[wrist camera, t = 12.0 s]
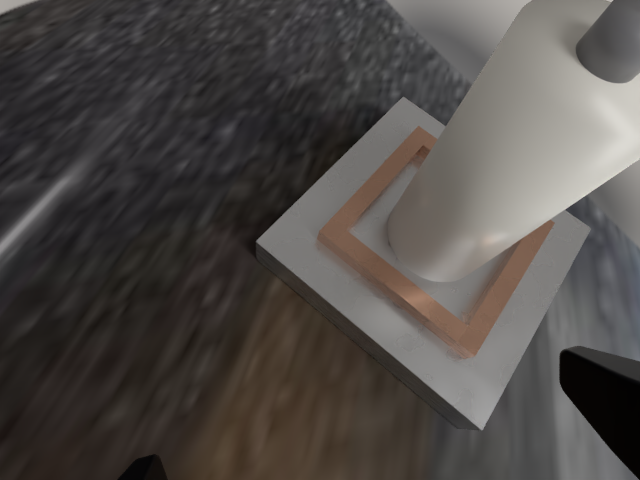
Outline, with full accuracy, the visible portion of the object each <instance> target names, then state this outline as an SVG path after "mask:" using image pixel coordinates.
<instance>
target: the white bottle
mask: <svg viewBox="0 0 640 480" xmlns="http://www.w3.org/2000/svg"><path fill="white" fill-rule="evenodd" d="M639 159H640V0H613V1H612V2H608V1H606V0H532V1H531V2H529V3H528V4H526V5H525V6H524V7H523V8H522V9H521V11H520V12H519V13H518V15H517V16H516V18H515V19H514V21H513V23H512V24H511V26H510V27H509V29H508V30H507V32H506V34H505V35H504V37H503V38H502V40H501V41H500V43H499V44H498V46H497V48H496V49H495V51H494V52H493V54H492V55H491V57H490V59H489V60H488V62H487V63H486V65H485V66H484V68H483V70H482V71H481V72H480V74H479V76H478V77H477V79H476V80H475V82H474V83H473V85H472V87H471V88H470V90H469V91H468V93H467V94H466V96H465V97H464V99H463V101H462V102H461V104H460V105H459V107H458V108H457V110H456V112H455V113H454V115H453V116H452V118H451V119H450V121H449V122H448V124H447V126H446V127H445V129H444V130H443V132H442V133H441V135H440V137H439V138H438V140H437V141H436V143H435V144H434V146H433V147H432V149H431V151H430V152H429V154H428V155H427V157H426V158H425V160H424V162H423V163H422V165H421V166H420V168H419V169H418V171H417V172H416V174H415V176H414V177H413V179H412V180H411V182H410V183H409V185H408V187H407V188H406V190H405V191H404V193H403V194H402V196H401V197H400V199H399V201H398V202H397V204H396V205H395V207H394V208H393V210H392V212H391V214H390V217H389V220H388V238H389V242H390V245H391V247H392V250H393V252H394V253H395V255H396V257H397V258H398V259H399V260H400V262H401V263H402V264H403V265H404V266H405V267H406V268H407V269H409V270H410V271H411V272H413V273H414V274H416V275H418V276H420V277H422V278H424V279H427V280H430V281H435V282H452V281H456V280H459V279H462V278H464V277H466V276H467V275H469V274H470V273H472V272H473V271H475V270H476V269H478V268H479V267H480V266H482V265H483V264H485V263H486V262H488V261H489V260H491V259H492V258H494V257H495V256H497V255H498V254H500V253H501V252H503V251H504V250H506V249H507V248H509V247H510V246H512V245H513V244H515V243H516V242H517V241H519V240H520V239H522V238H523V237H525V236H526V235H528V234H529V233H531V232H532V231H534V230H535V229H537V228H538V227H540V226H541V225H543V224H544V223H546V222H547V221H549V220H550V219H552V218H553V217H554V216H556V215H557V214H559V213H560V212H562V211H563V210H565V209H566V208H568V207H569V206H571V205H572V204H574V203H575V202H577V201H578V200H580V199H581V198H583V197H584V196H586V195H587V194H589V193H590V192H591V191H593V190H594V189H596V188H597V187H599V186H600V185H602V184H603V183H605V182H606V181H608V180H609V179H611V178H612V177H614V176H615V175H617V174H618V173H620V172H621V171H623V170H624V169H626V168H627V167H628V166H630V165H631V164H633V163H634V162H636V161H637V160H639Z"/></svg>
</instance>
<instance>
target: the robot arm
mask: <svg viewBox="0 0 640 480" xmlns="http://www.w3.org/2000/svg"><path fill="white" fill-rule="evenodd" d="M559 380H560V385H561V387H562V389H563V391H564V392H565V394H566V395H567V396H568V397H569V399H570V400H571V401H572V402H573V404H574V405H575V406H576V407H577V408H578V410H579V411H580V412H581V413H582V415H583V416H584V417H585V418H586V420H587V421H588V422H589V423H590V425H591V426H592V427H593V428H594V429H595V431H596V432H597V433H598V434H599V436H600V437H601V438H602V439H603V441H604V442H605V443H606V444H607V445H608V447H609V448H610V449H611V450H612V451H613V452H614V453H615V455H616V456H617V457H618V458H619V459H620V460H621V461H622V462H623V463H624V464H625V465H626V466H627V467H628V468H629V470H630V471H631V472H632V473H633V474H634V475H635V476H636V477H637V478H638V479H639V480H640V362H639V361H636V360H632V359H628V358H624V357H620V356H617V355H613V354H609V353H605V352H601V351H597V350H594V349H590V348H586V347H582V346H575V347H571V348H567V349H564V350H562V351H561V353H560V364H559ZM118 480H168V479H167V476H166V473H165V471H164V468H163V465H162V462H161V459H160V457H159V456H158V455H155V454H153V455H149V456H146V457H142V458H138V459H136V460H135V461H134V462H133V463H132V464H131V465H130V466H129V467H128V468H127V470H126V471H125V472H124V473H123V474H122V475H121V476H120V477H119V478H118Z"/></svg>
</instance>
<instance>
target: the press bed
mask: <svg viewBox="0 0 640 480" xmlns="http://www.w3.org/2000/svg"><path fill="white" fill-rule="evenodd" d="M445 127H446V126H444V125H443V124H441V123H440V122H439V121H437V120H436V119H434V118H433V117H432V116H430V115H429V114H427V113H426V112H424V111H423V110H422V109H420V108H419V107H417V106H416V105H414V104H413V103H412V102H410V101H409V100H407V99H406V98H404V97H402V98H401V99H400V100H399V101H398V102H397V103H396V104H395V105H394V106H393V107H392V108H391V109H390V110H389V111H388V112H387V113H386V114H385V115H384V116H383V117H382V118H381V119H380V120H379V121H378V122H377V123H376V124H375V125H374V126H373V127H372V128H371V129H370V130H369V131H368V132H367V133H366V134H365V135H364V136H363V137H362V138H361V139H360V140H359V141H358V142H357V143H356V144H355V145H354V146H353V147H351V148H350V149H349V150H348V151H347V152H346V153H345V154H344V155H343V156H342V157H341V158H340V159H339V160H338V161H337V162H336V163H335V164H334V165H333V166H332V167H331V168H330V169H329V170H328V171H327V172H326V173H325V174H324V175H323V176H322V177H321V178H320V179H319V180H318V181H317V182H316V183H315V184H314V185H313V186H312V187H311V188H310V189H309V190H308V191H307V192H306V193H305V194H304V195H303V196H302V197H301V198H299V199H298V200H297V201H296V202H295V203H294V204H293V205H292V206H291V207H290V208H289V209H288V210H287V211H286V212H285V213H284V214H283V215H282V216H281V217H280V218H279V219H278V220H277V221H276V222H275V223H274V224H273V225H272V226H271V227H270V228H269V229H268V230H267V231H266V232H265V233H264V234H263V235H262V236H261V237H260V238H259V239H258V240H257V241H256V259H257V260H258V261H260V262H261V263H262V264H263V265H264V266H266V267H267V268H268V269H269V270H270V271H271V272H273V273H274V274H275V275H276V276H277V277H279V278H280V279H281V280H282V281H283V282H284V283H286V284H287V285H288V286H289V287H290V288H292V289H293V290H294V291H295V292H296V293H297V294H299V295H300V296H301V297H302V298H303V299H305V300H306V301H307V302H308V303H309V304H310V305H312V306H313V307H314V308H315V309H316V310H318V311H319V312H320V313H321V314H322V315H323V316H325V317H326V318H327V319H328V320H329V321H331V322H332V323H333V324H334V325H335V326H336V327H338V328H339V329H340V330H341V331H342V332H344V333H345V334H346V335H347V336H348V337H349V338H351V339H352V340H353V341H354V342H355V343H357V344H358V345H359V346H360V347H361V348H363V349H364V350H365V351H366V352H367V353H368V354H370V355H371V356H372V357H373V358H374V359H376V360H377V361H378V362H379V363H380V364H381V365H383V366H384V367H385V368H386V369H387V370H389V371H390V372H391V373H392V374H393V375H394V376H396V377H397V378H398V379H399V380H400V381H402V382H403V383H404V384H405V385H406V386H407V387H409V388H410V389H411V390H412V391H413V392H415V393H416V394H417V395H418V396H419V397H420V398H422V399H423V400H424V401H425V402H426V403H428V404H429V405H430V406H431V407H432V408H433V409H435V410H436V411H437V412H438V413H439V414H441V415H442V416H443V417H444V418H445V419H446V420H448V421H449V422H450V423H451V424H452V425H454V426H455V427H456V428H457V429H467V430H480V431H482V430H483V428H484V426H485V424H486V422H487V421H488V419H489V417H490V415H491V413H492V411H493V409H494V408H495V406H496V404H497V402H498V400H499V398H500V396H501V395H502V393H503V391H504V389H505V387H506V385H507V383H508V382H509V380H510V378H511V376H512V374H513V372H514V370H515V369H516V367H517V365H518V363H519V361H520V359H521V357H522V356H523V354H524V352H525V350H526V348H527V346H528V344H529V343H530V341H531V339H532V337H533V335H534V333H535V331H536V330H537V328H538V326H539V324H540V322H541V320H542V318H543V317H544V315H545V313H546V311H547V309H548V307H549V305H550V304H551V302H552V300H553V298H554V296H555V294H556V292H557V291H558V289H559V287H560V285H561V283H562V281H563V279H564V278H565V276H566V274H567V272H568V270H569V268H570V267H571V265H572V263H573V261H574V259H575V257H576V255H577V254H578V252H579V250H580V248H581V246H582V244H583V242H584V241H585V239H586V237H587V235H588V233H589V231H590V229H591V228H590V227H588V226H587V225H585V224H584V223H583V222H581V221H580V220H578V219H577V218H575V217H574V216H573V215H571V214H570V213H568V212H567V211H565V210H563V211H562V212H560V213H559V214H557V215H556V216H554V217H553V218H552V219H550V220H549V221H547V222H546V223H544V224H543V225H541V226H540V227H538V228H537V229H535V230H534V231H532V232H531V233H529V234H528V235H526V236H525V237H523V238H522V239H520V240H519V241H517V242H516V243H515V244H513V245H512V246H510V247H509V248H507V249H506V250H504V251H503V252H501V253H500V254H498V255H497V256H495V257H494V258H492V259H491V260H489V261H488V262H486V263H485V264H483V265H482V266H480V267H479V268H478V269H476V270H475V271H473V272H472V273H470V274H469V275H467V276H466V277H464V278H462V279H459V280H456V281H452V282H435V281H430V280H427V279H424V278H422V277H420V276H418V275H416V274H414V273H413V272H411V271H410V270H409V269H407V268H406V267H405V266H404V265H403V264H402V263H401V262H400V260H399V259H398V258H397V257H396V255H395V253H394V252H393V250H392V247H391V245H390V242H389V238H388V220H389V217H390V214H391V212H392V210H393V208H394V207H395V205H396V204H397V202H398V201H399V199H400V197H401V196H402V194H403V193H404V191H405V190H406V188H407V187H408V185H409V183H410V182H411V180H412V179H413V177H414V176H415V174H416V172H417V171H418V169H419V168H420V166H421V165H422V163H423V162H424V160H425V158H426V157H427V155H428V154H429V152H430V151H431V149H432V147H433V146H434V144H435V143H436V141H437V140H438V138H439V137H440V135H441V133H442V132H443V130H444V129H445Z"/></svg>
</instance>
